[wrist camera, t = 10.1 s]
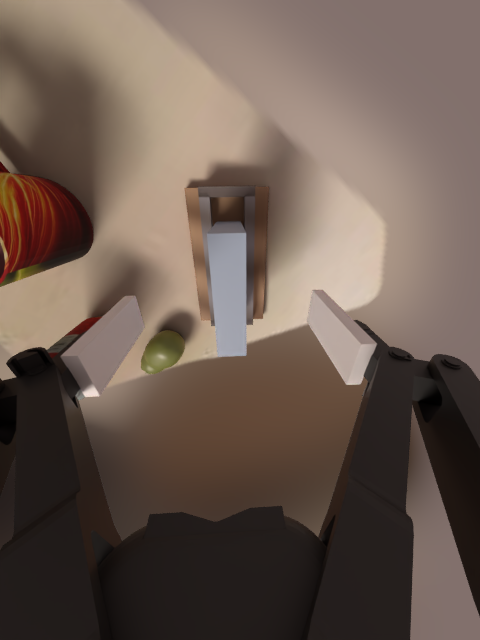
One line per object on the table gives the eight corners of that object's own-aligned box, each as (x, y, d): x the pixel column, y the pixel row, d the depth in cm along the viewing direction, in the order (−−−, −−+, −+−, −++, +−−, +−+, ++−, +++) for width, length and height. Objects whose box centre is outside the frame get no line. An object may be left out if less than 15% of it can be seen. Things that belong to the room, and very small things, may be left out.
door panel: (216, 221, 26) (206, 233, 16) (240, 220, 26) (246, 232, 16) (222, 306, 32) (217, 356, 22) (241, 306, 32) (246, 355, 22)
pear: (186, 359, 31) (156, 386, 36) (194, 336, 35) (167, 363, 40) (152, 340, 29) (126, 372, 34) (166, 318, 33) (140, 349, 38)
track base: (186, 188, 25) (181, 187, 23) (267, 187, 25) (271, 185, 23) (202, 317, 34) (199, 326, 31) (262, 315, 34) (264, 324, 32)
